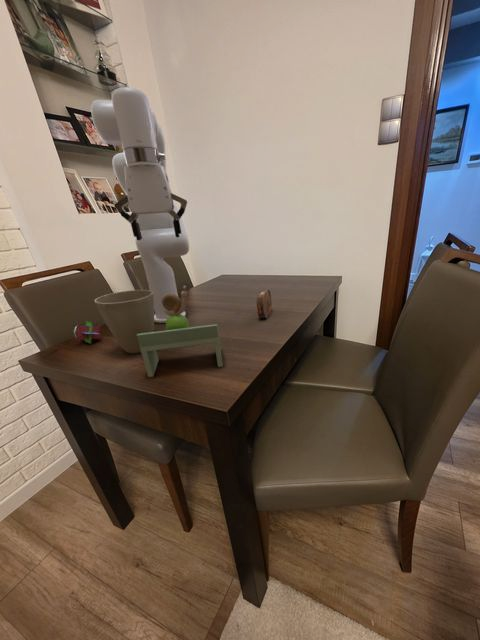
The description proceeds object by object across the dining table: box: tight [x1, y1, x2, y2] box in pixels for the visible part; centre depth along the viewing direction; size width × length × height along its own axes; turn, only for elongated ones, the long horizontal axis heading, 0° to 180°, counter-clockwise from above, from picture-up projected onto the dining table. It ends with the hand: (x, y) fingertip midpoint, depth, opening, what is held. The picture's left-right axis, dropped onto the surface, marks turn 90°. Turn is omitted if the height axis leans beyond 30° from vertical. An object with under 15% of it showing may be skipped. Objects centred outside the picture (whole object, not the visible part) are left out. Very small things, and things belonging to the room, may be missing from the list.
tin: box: [256, 289, 273, 319], centre depth 103 cm, size 15×3×8 cm, turn 168°
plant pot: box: [94, 289, 155, 354], centre depth 81 cm, size 15×15×16 cm
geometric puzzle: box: [73, 320, 101, 345], centre depth 90 cm, size 7×7×8 cm
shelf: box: [137, 323, 224, 378], centre depth 70 cm, size 9×18×11 cm, turn 101°
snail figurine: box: [162, 285, 190, 330], centre depth 67 cm, size 5×6×12 cm
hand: (158, 238), depth 73 cm, fingers open, 9 cm apart
